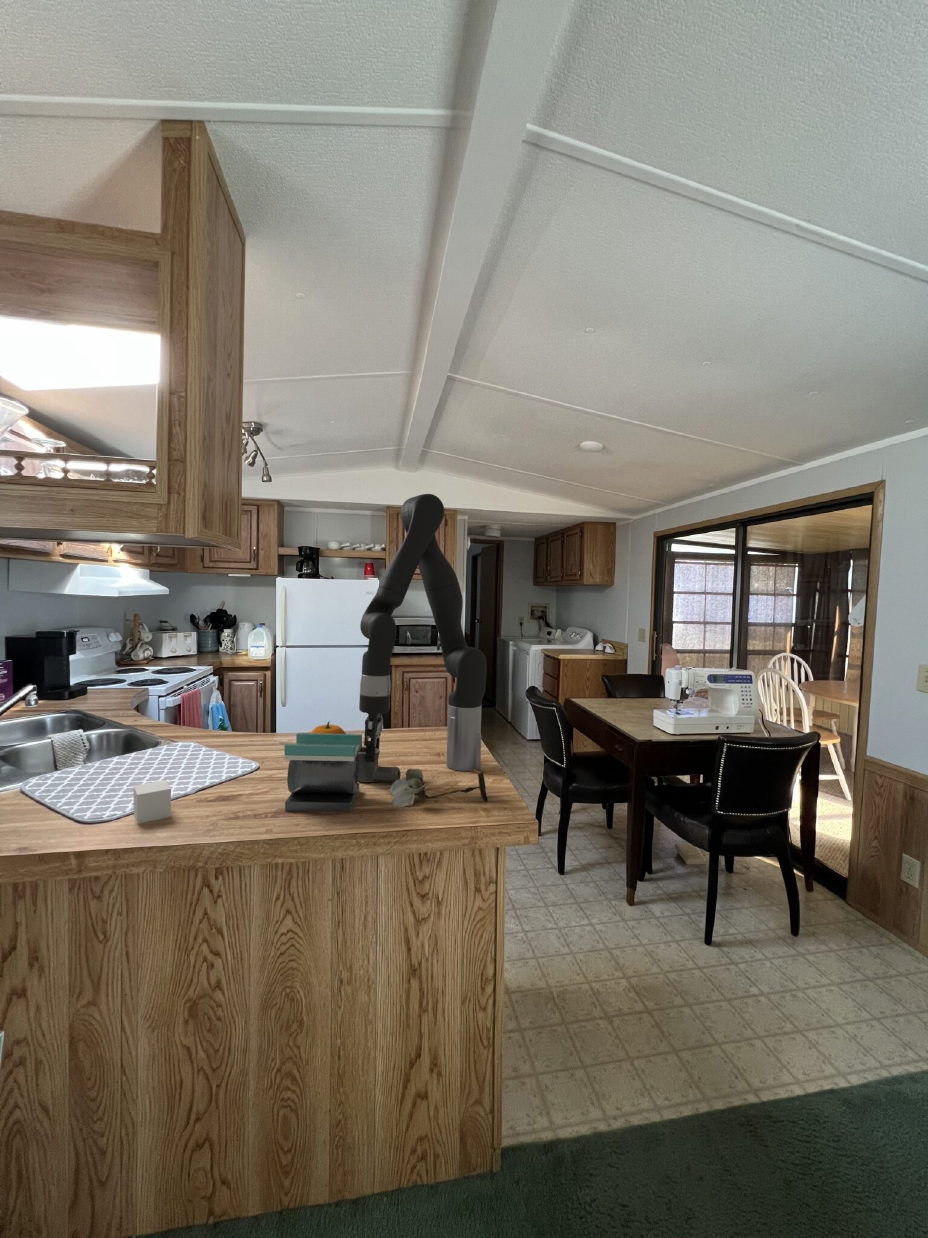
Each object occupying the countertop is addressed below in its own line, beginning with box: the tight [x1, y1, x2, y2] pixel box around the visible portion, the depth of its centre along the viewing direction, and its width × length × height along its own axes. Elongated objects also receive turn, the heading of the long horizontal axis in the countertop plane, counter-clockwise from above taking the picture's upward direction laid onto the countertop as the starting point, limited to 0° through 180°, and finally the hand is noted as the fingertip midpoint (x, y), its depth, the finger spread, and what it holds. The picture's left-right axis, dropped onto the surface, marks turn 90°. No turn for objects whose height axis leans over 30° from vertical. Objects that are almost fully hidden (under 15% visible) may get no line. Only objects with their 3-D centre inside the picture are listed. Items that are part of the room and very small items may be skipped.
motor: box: [283, 732, 363, 813], centre depth 121 cm, size 15×12×14 cm
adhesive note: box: [133, 779, 172, 825], centre depth 111 cm, size 6×6×6 cm
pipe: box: [358, 746, 402, 784], centre depth 135 cm, size 6×13×8 cm, turn 78°
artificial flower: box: [390, 768, 489, 808], centre depth 123 cm, size 9×22×10 cm, turn 93°
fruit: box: [310, 721, 347, 734], centre depth 154 cm, size 12×12×10 cm
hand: (372, 756), depth 134 cm, fingers open, 8 cm apart
